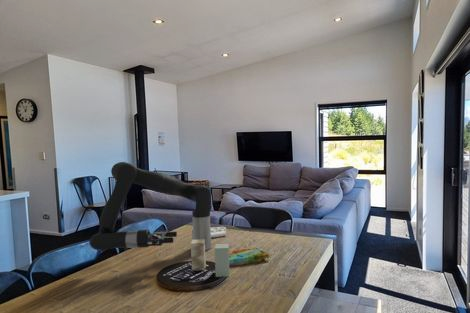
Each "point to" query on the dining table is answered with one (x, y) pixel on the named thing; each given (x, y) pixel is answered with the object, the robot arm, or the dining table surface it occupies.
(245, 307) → the dining table surface
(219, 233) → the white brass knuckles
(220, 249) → the sage block
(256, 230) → the dining table surface
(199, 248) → the birch block
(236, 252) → the puzzle game
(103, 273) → the dining table surface
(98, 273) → the dining table surface
